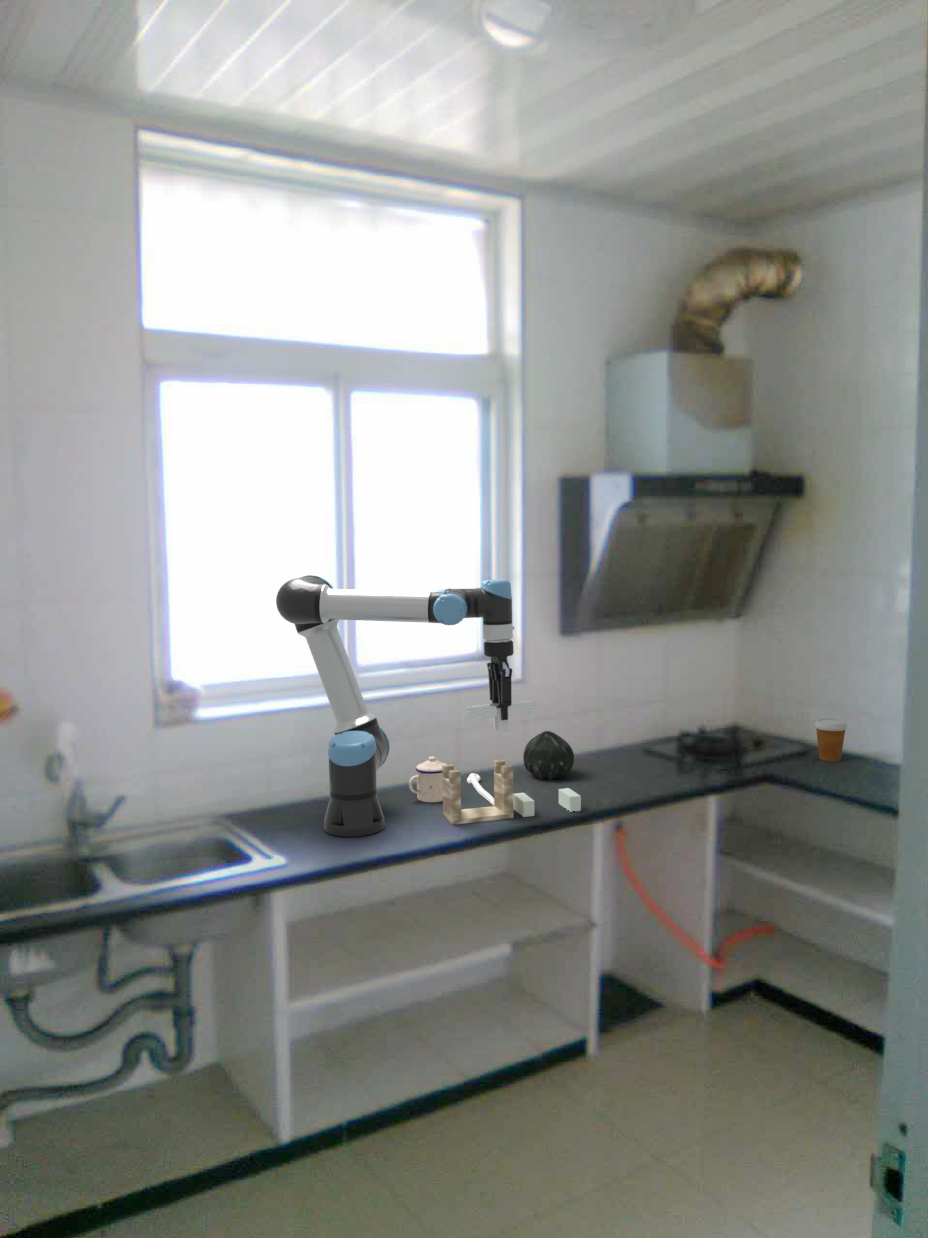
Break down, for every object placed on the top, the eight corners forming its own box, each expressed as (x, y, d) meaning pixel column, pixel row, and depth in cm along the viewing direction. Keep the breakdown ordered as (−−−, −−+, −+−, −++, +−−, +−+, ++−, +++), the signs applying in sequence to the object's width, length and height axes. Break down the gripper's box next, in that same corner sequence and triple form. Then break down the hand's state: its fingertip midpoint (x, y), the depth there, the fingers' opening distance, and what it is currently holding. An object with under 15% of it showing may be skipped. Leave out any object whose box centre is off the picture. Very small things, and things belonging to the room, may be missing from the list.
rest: (523, 817, 255) (523, 802, 255) (513, 808, 263) (512, 793, 262) (580, 810, 260) (580, 796, 259) (568, 802, 268) (568, 788, 267)
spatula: (507, 807, 265) (507, 797, 265) (492, 808, 264) (492, 798, 264) (478, 781, 292) (478, 771, 292) (465, 782, 291) (465, 772, 291)
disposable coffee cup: (815, 762, 307) (816, 724, 305) (812, 754, 316) (813, 717, 315) (848, 763, 304) (849, 725, 303) (843, 756, 314) (844, 718, 312)
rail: (469, 719, 251) (468, 708, 251) (465, 717, 254) (465, 706, 253) (535, 713, 256) (535, 701, 255) (531, 711, 259) (531, 699, 258)
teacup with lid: (438, 792, 280) (437, 751, 279) (455, 799, 272) (455, 757, 271) (401, 799, 273) (400, 758, 272) (418, 807, 266) (417, 764, 264)
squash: (559, 749, 306) (533, 717, 299) (590, 760, 293) (565, 727, 286) (531, 784, 301) (504, 753, 294) (562, 797, 289) (535, 765, 282)
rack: (451, 824, 250) (450, 772, 248) (443, 815, 257) (442, 765, 256) (513, 818, 254) (513, 766, 253) (503, 809, 262) (502, 759, 261)
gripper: (522, 642, 246) (525, 735, 248) (502, 635, 262) (505, 723, 264) (494, 644, 244) (497, 738, 246) (475, 637, 259) (478, 726, 262)
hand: (501, 730), depth 255 cm, fingers closed on rail, 3 cm apart
